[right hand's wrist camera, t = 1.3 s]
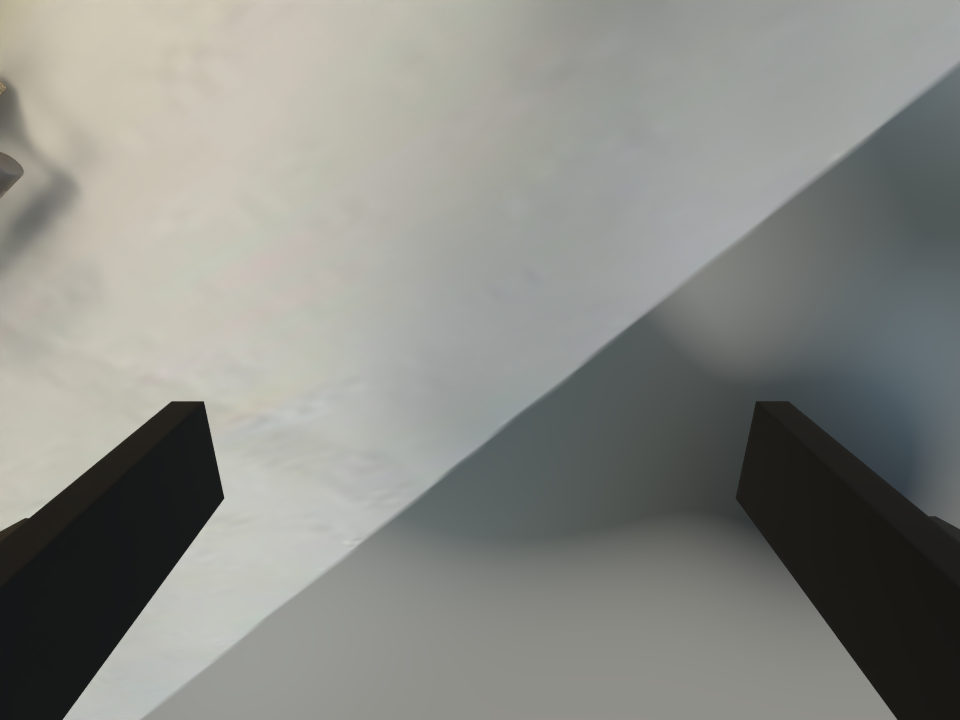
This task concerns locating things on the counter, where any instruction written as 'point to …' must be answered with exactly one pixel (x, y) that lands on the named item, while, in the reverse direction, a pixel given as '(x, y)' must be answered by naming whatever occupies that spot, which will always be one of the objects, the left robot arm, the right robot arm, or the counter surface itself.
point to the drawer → (8, 167)
